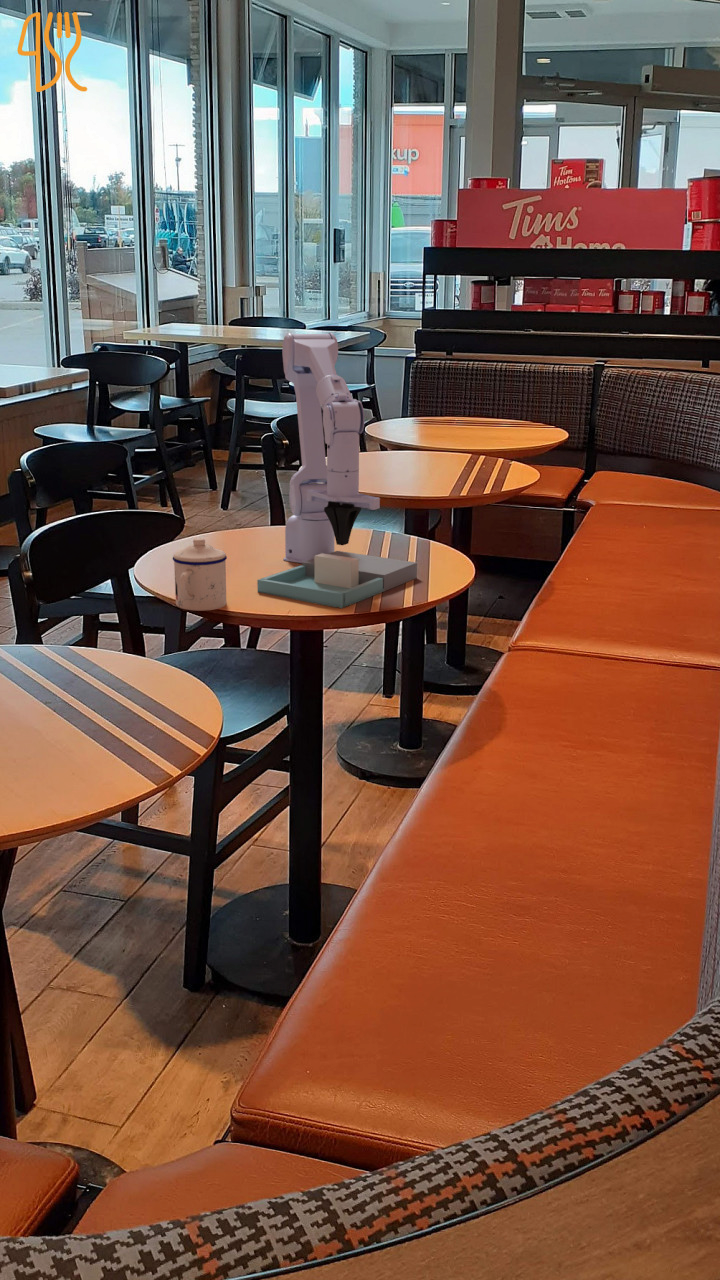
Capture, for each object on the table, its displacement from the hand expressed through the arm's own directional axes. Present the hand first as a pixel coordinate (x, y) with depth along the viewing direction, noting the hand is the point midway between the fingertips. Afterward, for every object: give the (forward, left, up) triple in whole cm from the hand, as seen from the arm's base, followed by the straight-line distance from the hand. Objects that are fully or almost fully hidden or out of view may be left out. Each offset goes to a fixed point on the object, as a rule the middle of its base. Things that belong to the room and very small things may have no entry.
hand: (342, 544), depth 209 cm
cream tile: (0, -1, -5) cm, 5 cm away
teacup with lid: (-12, -27, -8) cm, 31 cm away
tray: (0, -7, -8) cm, 10 cm away
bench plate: (0, +6, -8) cm, 10 cm away
